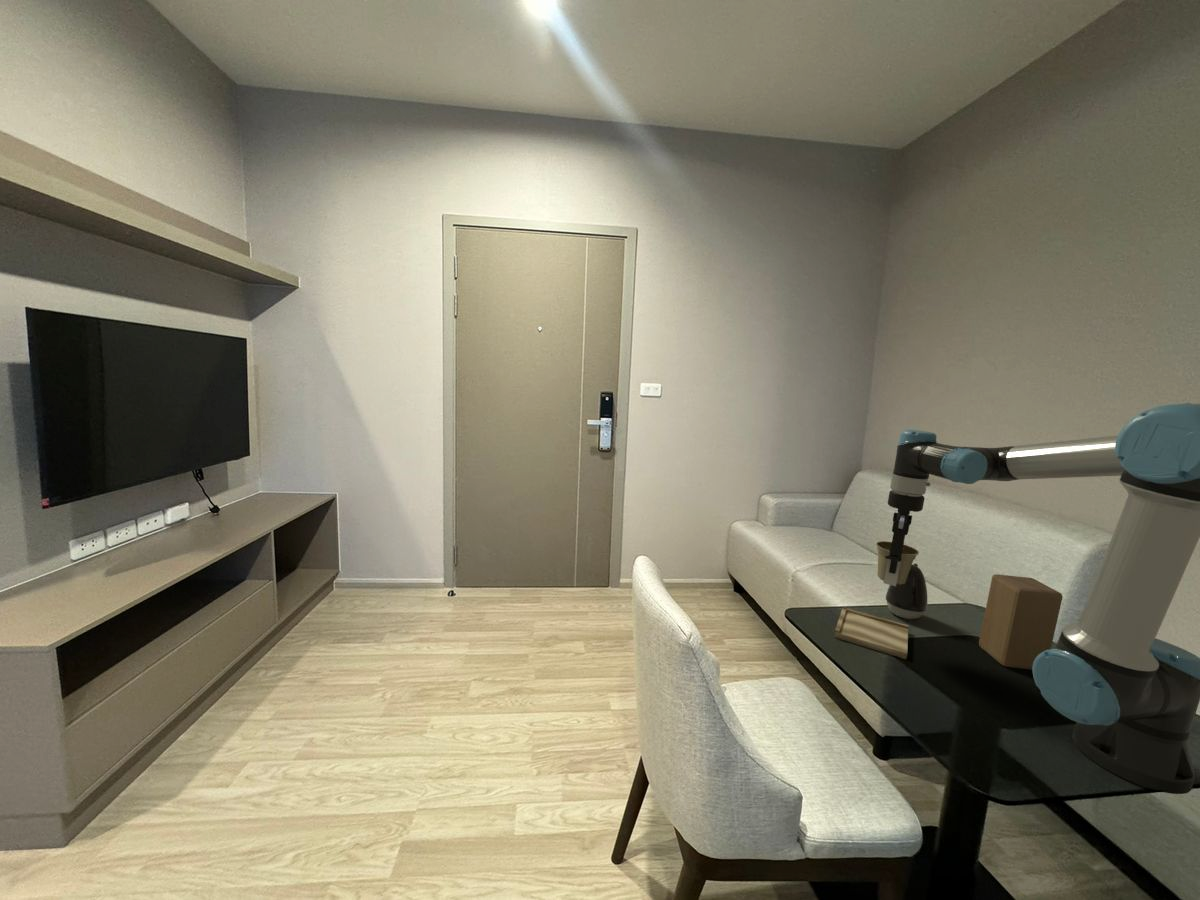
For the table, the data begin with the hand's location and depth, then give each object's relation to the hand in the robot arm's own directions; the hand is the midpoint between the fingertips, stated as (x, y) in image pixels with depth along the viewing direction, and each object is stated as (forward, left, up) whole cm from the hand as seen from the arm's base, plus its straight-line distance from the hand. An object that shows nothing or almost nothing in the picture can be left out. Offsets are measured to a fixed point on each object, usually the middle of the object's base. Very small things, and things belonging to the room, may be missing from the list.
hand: (891, 578), depth 127 cm
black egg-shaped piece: (+20, -5, -17) cm, 26 cm away
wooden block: (+10, -28, -17) cm, 34 cm away
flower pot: (0, 0, -1) cm, 1 cm away
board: (0, +2, -16) cm, 16 cm away
